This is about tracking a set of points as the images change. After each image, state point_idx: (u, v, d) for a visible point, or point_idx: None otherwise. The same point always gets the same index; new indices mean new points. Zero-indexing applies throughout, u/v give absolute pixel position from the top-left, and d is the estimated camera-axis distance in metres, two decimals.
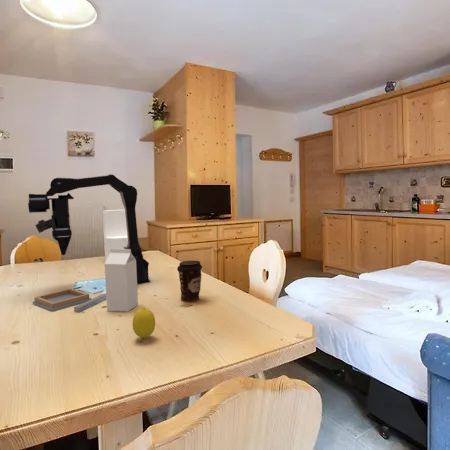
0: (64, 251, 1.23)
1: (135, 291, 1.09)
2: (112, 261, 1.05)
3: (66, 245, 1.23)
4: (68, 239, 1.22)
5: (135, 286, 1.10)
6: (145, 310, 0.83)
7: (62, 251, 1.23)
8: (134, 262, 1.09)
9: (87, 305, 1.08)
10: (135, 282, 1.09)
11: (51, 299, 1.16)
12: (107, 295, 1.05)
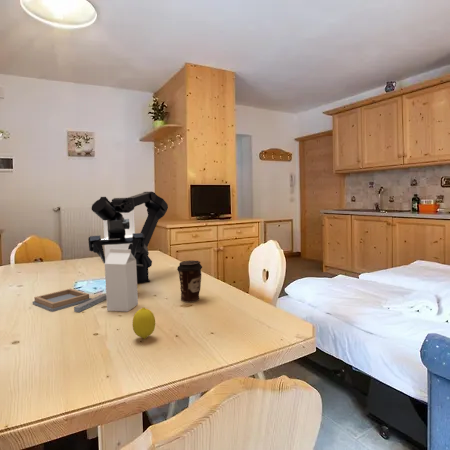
0: (134, 257, 1.18)
1: (135, 291, 1.09)
2: (112, 261, 1.05)
3: (135, 253, 1.20)
4: (136, 249, 1.22)
5: (135, 286, 1.10)
6: (145, 310, 0.84)
7: (134, 256, 1.18)
8: (134, 262, 1.09)
9: (87, 305, 1.08)
10: (135, 282, 1.09)
11: (51, 299, 1.16)
12: (107, 295, 1.05)
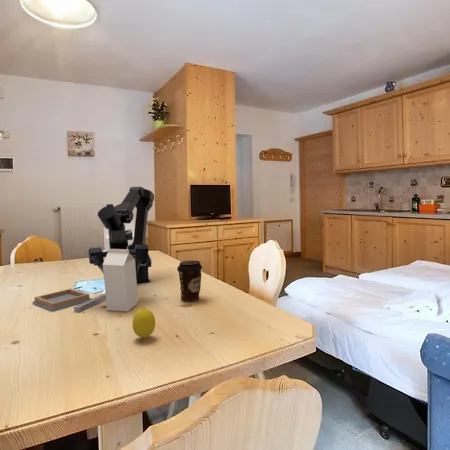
0: (137, 270, 1.11)
1: (135, 290, 1.09)
2: (110, 262, 1.03)
3: (138, 266, 1.13)
4: (139, 262, 1.15)
5: (135, 285, 1.09)
6: (145, 310, 0.83)
7: (137, 269, 1.10)
8: (133, 261, 1.07)
9: (87, 305, 1.08)
10: (134, 281, 1.08)
11: (51, 299, 1.16)
12: (106, 295, 1.05)
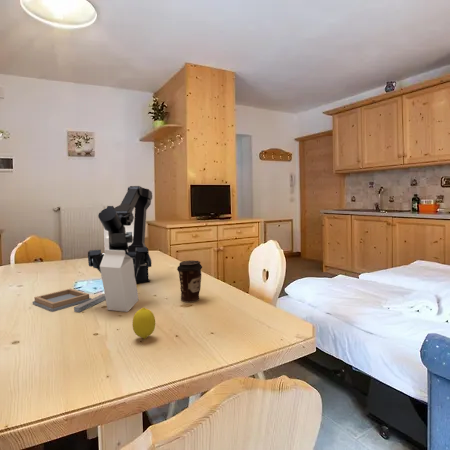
0: (136, 274, 1.09)
1: (134, 289, 1.08)
2: (107, 264, 1.01)
3: (138, 269, 1.11)
4: (139, 265, 1.13)
5: (134, 284, 1.08)
6: (145, 310, 0.83)
7: (136, 272, 1.08)
8: (130, 261, 1.05)
9: (87, 305, 1.08)
10: (133, 280, 1.07)
11: (51, 299, 1.16)
12: (106, 296, 1.04)
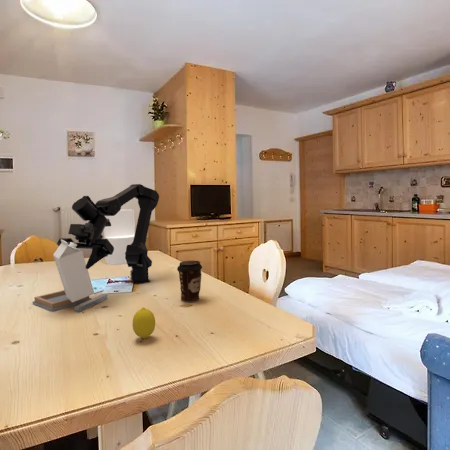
0: (90, 265, 1.08)
1: (86, 282, 1.08)
2: (56, 253, 1.06)
3: (96, 261, 1.10)
4: (101, 256, 1.12)
5: (86, 277, 1.08)
6: (145, 310, 0.83)
7: (89, 264, 1.08)
8: (78, 254, 1.05)
9: (87, 305, 1.08)
10: (84, 273, 1.07)
11: (51, 299, 1.16)
12: (62, 283, 1.10)
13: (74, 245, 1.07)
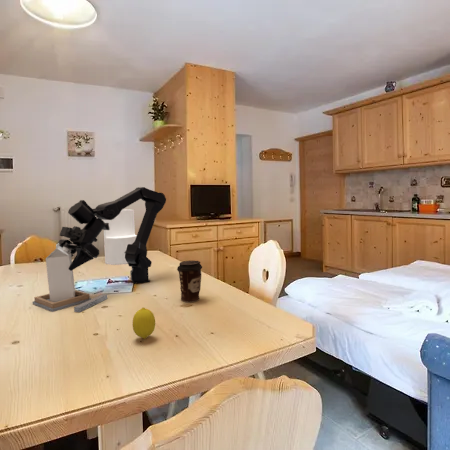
0: (73, 267, 1.13)
1: (67, 286, 1.13)
2: None
3: (80, 263, 1.14)
4: (87, 259, 1.15)
5: (68, 282, 1.13)
6: (145, 310, 0.83)
7: (72, 266, 1.12)
8: (65, 258, 1.12)
9: (87, 305, 1.08)
10: (67, 277, 1.12)
11: None
12: None
13: (65, 249, 1.14)
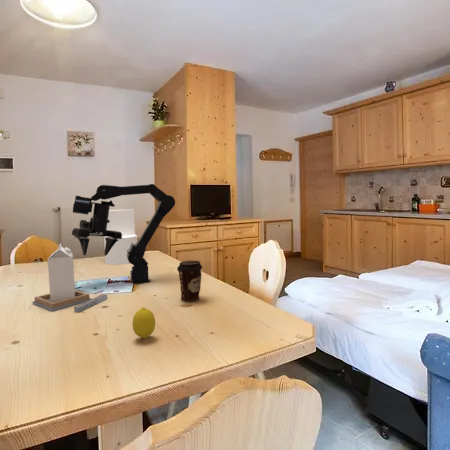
0: (83, 252, 1.30)
1: (68, 287, 1.13)
2: None
3: (84, 246, 1.29)
4: (84, 241, 1.28)
5: (69, 283, 1.13)
6: (145, 310, 0.84)
7: (83, 251, 1.31)
8: (67, 259, 1.12)
9: (87, 305, 1.08)
10: (68, 279, 1.12)
11: None
12: None
13: (67, 250, 1.14)
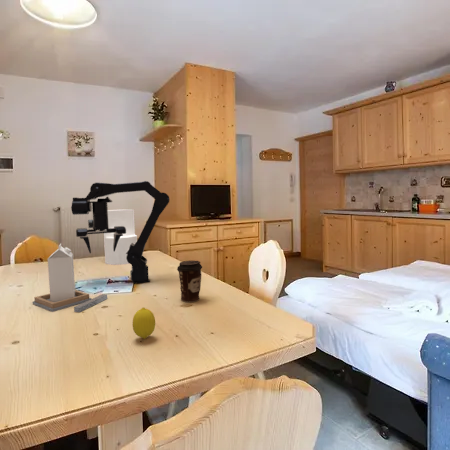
0: None
1: (68, 287, 1.13)
2: None
3: None
4: None
5: (69, 283, 1.13)
6: (145, 310, 0.83)
7: None
8: (67, 259, 1.12)
9: (87, 305, 1.08)
10: (68, 279, 1.12)
11: None
12: None
13: (67, 250, 1.14)
